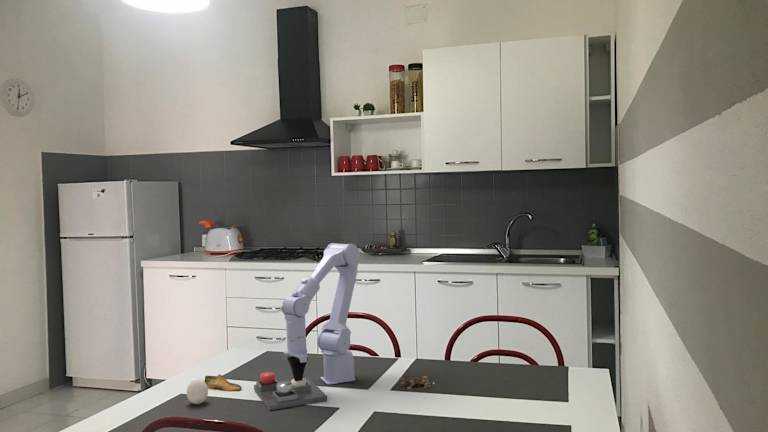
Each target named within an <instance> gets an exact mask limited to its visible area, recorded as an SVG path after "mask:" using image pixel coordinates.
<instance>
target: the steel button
mask: <svg viewBox="0 0 768 432" xmlns="http://www.w3.org/2000/svg"><path fill="white" fill-rule="evenodd" d="M291 393H292V383H291V382H281V383H278V384H277V394H278V395H288V394H291Z"/></svg>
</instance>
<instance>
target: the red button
mask: <svg viewBox="0 0 768 432" xmlns="http://www.w3.org/2000/svg"><path fill="white" fill-rule="evenodd" d="M259 376H260V381H261V384H272V383H275V379H276V373H275V372H273V371H266V372H262V373H260V375H259Z"/></svg>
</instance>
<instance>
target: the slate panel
mask: <svg viewBox="0 0 768 432" xmlns="http://www.w3.org/2000/svg"><path fill="white" fill-rule="evenodd" d="M303 378H304V379H306V385H304V386H298V387H292V393H291V394H288V395H278V394H277V384H278V383H281V382H291V380H292V379H293V378H291V379H290V378H289V379H283V380H277V379H276V378H275V383H272V384H261V380H257V381H256V382H255V383H256V384H254V385H253V390H254V392H255V393H256V394H257V396H258V397H259V399H260V400H261V401H262V402H263V404H264V406H265V407H266V406H267V407H266V408H267V409H268V411H269V410H271V411H274V410H275V411H276V410H282V409H286V408H287V407H288V408H293V406H294V407H298V406H305V405H310V404H316V403H321V402H327V401H328V395H327V394H326V393H325V392H323V391H322V390H321V388H319V387H318V385H316V384H315V383H314V382H313V381H312V380H311V379H310V378H309V377H308V376H303ZM281 408H282V409H281Z"/></svg>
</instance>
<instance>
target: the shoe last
mask: <svg viewBox="0 0 768 432" xmlns="http://www.w3.org/2000/svg"><path fill="white" fill-rule="evenodd" d="M203 381H204V382H205V383H206V385H207V387H208V390H210V389H211V390H213V389H217V390H220V391H225V392H236V391H237V390H238V391H241V390H242V386H241V385H240V384H238V383H234V382H233V383H232V382H230V381H228V380H227V379H226V378H225V377H224V376H223V375H222V374H218V375H205V376H204V380H203Z"/></svg>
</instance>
